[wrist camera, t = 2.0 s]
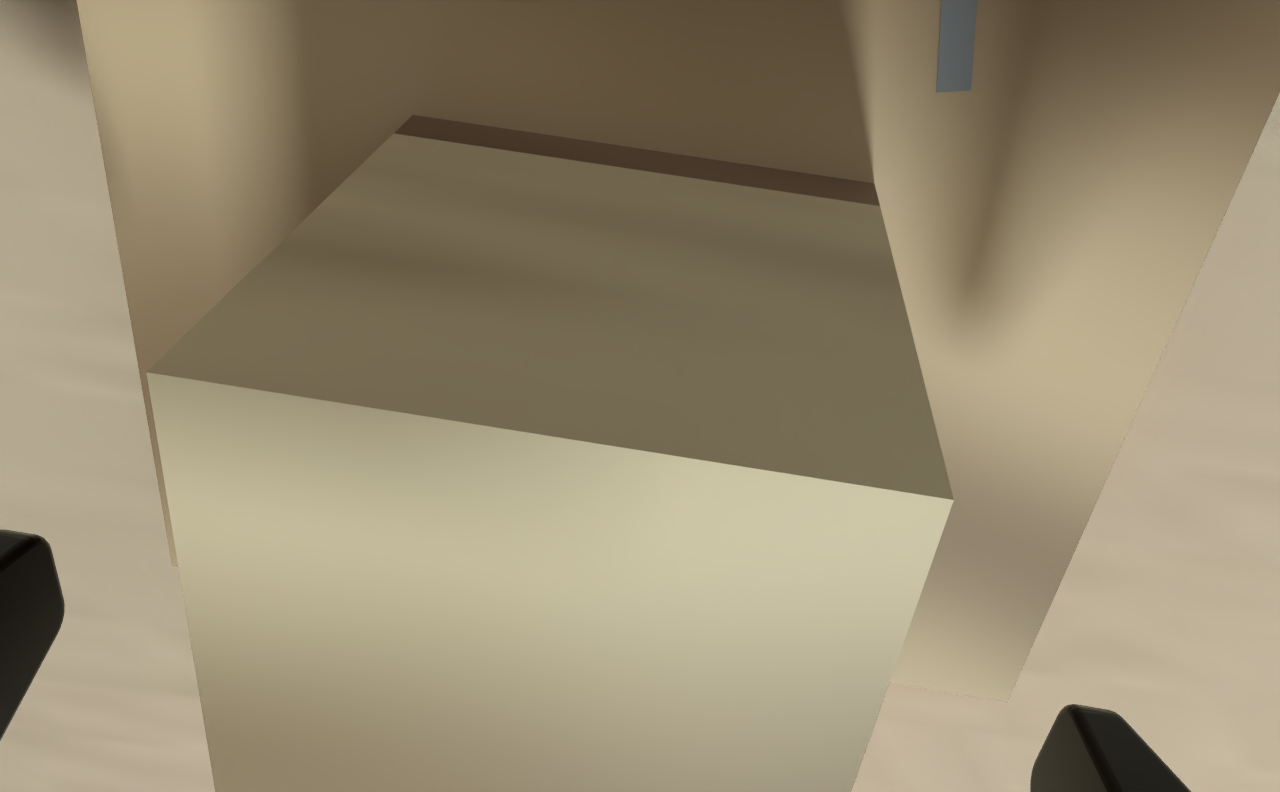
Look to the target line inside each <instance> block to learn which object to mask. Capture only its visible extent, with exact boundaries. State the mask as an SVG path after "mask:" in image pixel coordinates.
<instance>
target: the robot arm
mask: <svg viewBox="0 0 1280 792" xmlns="http://www.w3.org/2000/svg"><path fill="white" fill-rule="evenodd" d="M63 617H64V598H63V594H62V590H61V586H60V582H59V578H58V574H57V570H56V566H55V562H54V558H53V554H52V550H51V547H50V545H49V543H48V542H47V541H46V540H45V539H44V538H43V537H41V536H39V535H35V534H28V533H22V532H16V531H10V530H0V740H1V739H2V737H3V735H4V733H5V731H6V729H7V727H8V725H9V724H10V722H11V720H12V718H13V716H14V714H15V712H16V711H17V709H18V707H19V705H20V703H21V701H22V699H23V697H24V696H25V694H26V692H27V690H28V688H29V686H30V684H31V682H32V681H33V679H34V677H35V675H36V673H37V671H38V669H39V668H40V666H41V664H42V662H43V660H44V658H45V656H46V654H47V653H48V651H49V649H50V647H51V645H52V643H53V641H54V640H55V638H56V636H57V634H58V632H59V630H60V627H61V624H62V621H63ZM1030 790H1031V792H1191V791H1190V790H1189V789H1188V788H1187V787H1186V786H1185V784H1184V783H1183V782H1182V781H1181V780H1180V779H1179V778H1178V777H1177V776H1176V775H1175V774H1174V773H1173V772H1172V770H1171V769H1170V768H1169V767H1168V766H1167V765H1166V764H1165V763H1164V762H1163V761H1162V760H1161V759H1160V757H1159V756H1158V755H1157V754H1156V753H1155V752H1154V751H1153V750H1152V749H1151V748H1150V747H1149V746H1148V745H1147V743H1146V742H1145V741H1144V740H1143V739H1142V738H1141V737H1140V736H1139V735H1138V734H1137V733H1136V732H1135V731H1134V729H1133V728H1132V727H1131V726H1130V725H1129V724H1128V723H1127V722H1126V721H1125V720H1124V719H1123V718H1122V717H1121V716H1120V715H1118V714H1117V713H1115V712H1113V711H1110V710H1106V709H1100V708H1094V707H1088V706H1082V705H1076V704H1072V705H1067V706H1065V707H1064V708H1063V709H1062V710H1061V711H1060V713H1059V714H1058V716H1057V718H1056V720H1055V722H1054V724H1053V726H1052V728H1051V730H1050V732H1049V734H1048V736H1047V738H1046V740H1045V742H1044V744H1043V746H1042V749H1041V751H1040V753H1039V755H1038V757H1037V759H1036V761H1035V763H1034V766H1033V770H1032V775H1031V787H1030Z"/></svg>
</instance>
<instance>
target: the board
mask: <svg viewBox="0 0 1280 792" xmlns="http://www.w3.org/2000/svg"><path fill="white" fill-rule="evenodd" d="M77 6H78V12H79V18H80V24H81V30H82V35H83V41H84V47H85V53H86V59H87V65H88V71H89V77H90V83H91V89H92V95H93V101H94V106H95V112H96V118H97V124H98V130H99V136H100V142H101V148H102V154H103V160H104V166H105V171H106V177H107V183H108V189H109V195H110V201H111V207H112V213H113V219H114V225H115V231H116V237H117V242H118V248H119V254H120V260H121V266H122V272H123V278H124V284H125V290H126V296H127V302H128V307H129V313H130V319H131V325H132V331H133V337H134V343H135V349H136V355H137V361H138V367H139V373H140V378H141V384H142V390H143V396H144V402H145V408H146V414H147V420H148V426H149V432H150V438H151V443H152V449H153V455H154V461H155V467H156V473H157V479H158V485H159V491H160V497H161V503H162V509H163V514H164V520H165V526H166V532H167V538H168V544H169V550H170V556H171V562H172V566H177V567H178V561H177V555H176V549H175V543H174V537H173V531H172V525H171V519H170V513H169V507H168V501H167V495H166V488H165V482H164V476H163V470H162V464H161V458H160V452H159V446H158V440H157V434H156V428H155V422H154V416H153V410H152V404H151V398H150V391H149V385H148V379H147V373H146V372H147V371H148V370H149V369H150V368H151V367H152V366H153V365H154V364H155V363H156V362H158V361H159V360H160V359H161V358H162V357H163V356H164V355H165V354H166V353H167V352H168V351H169V350H170V349H171V348H172V347H173V346H174V345H175V344H176V343H177V342H178V341H179V340H180V339H181V338H182V337H183V336H184V335H185V334H187V333H188V332H189V331H190V330H191V329H192V328H193V327H194V326H195V325H196V324H197V323H198V322H199V321H200V320H201V319H202V318H203V317H204V316H205V315H206V314H207V313H208V312H209V311H210V310H211V309H212V308H213V307H214V306H216V305H217V304H218V303H219V302H220V301H221V300H222V299H223V298H224V297H225V296H226V295H227V294H228V293H229V292H230V291H231V290H232V289H233V288H234V287H235V286H236V285H237V284H238V283H239V282H240V281H241V280H242V279H243V278H244V277H246V276H247V275H248V274H249V273H250V272H251V271H252V270H253V269H254V268H255V267H256V266H257V265H258V264H259V263H260V262H261V261H262V260H263V259H264V258H265V257H266V256H267V255H268V254H269V253H270V252H271V251H272V250H273V249H275V248H276V247H277V246H278V245H279V244H280V243H281V242H282V241H283V240H284V239H285V238H286V237H287V236H288V235H289V234H290V233H291V232H292V231H293V230H294V229H295V228H296V227H297V226H298V225H299V224H300V223H301V222H302V221H304V220H305V219H306V218H307V217H308V216H309V215H310V214H311V213H312V212H313V211H314V210H315V209H316V208H317V207H318V206H319V205H320V204H321V203H322V202H323V201H324V200H325V199H326V198H327V197H328V196H329V195H330V194H331V193H333V192H334V191H335V190H336V189H337V188H338V187H339V186H340V185H341V184H342V183H343V182H344V181H345V180H346V179H347V178H348V177H349V176H350V175H351V174H352V173H353V172H354V171H355V170H356V169H357V168H358V167H359V166H360V165H361V164H363V163H364V162H365V161H366V160H367V159H368V158H369V157H370V156H371V155H372V154H373V153H374V152H375V151H376V150H377V149H378V148H379V147H380V146H381V145H382V144H383V143H384V142H385V141H386V140H387V139H388V138H389V137H390V136H392V135H393V134H394V133H395V132H396V131H397V130H398V129H399V128H400V127H401V126H402V125H403V124H404V123H405V122H406V121H407V120H408V119H409V118H410V117H411V116H412V115H418V116H424V117H431V118H438V119H445V120H451V121H458V122H465V123H471V124H478V125H485V126H492V127H498V128H505V129H512V130H519V131H525V132H532V133H539V134H545V135H552V136H559V137H566V138H572V139H579V140H586V141H592V142H599V143H606V144H613V145H619V146H626V147H633V148H639V149H646V150H653V151H660V152H666V153H673V154H680V155H687V156H693V157H700V158H707V159H713V160H720V161H727V162H734V163H740V164H747V165H754V166H760V167H767V168H774V169H781V170H787V171H794V172H801V173H808V174H814V175H821V176H828V177H834V178H841V179H848V180H855V181H861V182H868V183H874V184H875V188H876V192H877V196H878V200H879V204H880V207H881V211H882V215H883V219H884V223H885V227H886V231H887V235H888V239H889V243H890V247H891V251H892V255H893V259H894V263H895V267H896V271H897V275H898V279H899V283H900V287H901V291H902V295H903V299H904V303H905V307H906V311H907V315H908V319H909V323H910V327H911V331H912V335H913V339H914V343H915V347H916V351H917V355H918V359H919V363H920V367H921V371H922V375H923V379H924V383H925V387H926V391H927V395H928V399H929V403H930V407H931V411H932V415H933V419H934V423H935V427H936V431H937V435H938V439H939V443H940V447H941V451H942V454H943V458H944V462H945V466H946V470H947V474H948V478H949V482H950V486H951V490H952V494H953V498H954V501H953V504H952V507H951V510H950V513H949V515H948V518H947V521H946V524H945V527H944V530H943V532H942V535H941V538H940V541H939V544H938V547H937V550H936V552H935V555H934V558H933V561H932V564H931V567H930V569H929V572H928V575H927V578H926V581H925V584H924V586H923V589H922V592H921V595H920V598H919V601H918V603H917V606H916V609H915V612H914V615H913V618H912V620H911V623H910V626H909V629H908V632H907V635H906V638H905V640H904V643H903V646H902V649H901V652H900V655H899V657H898V660H897V663H896V666H895V669H894V672H893V674H892V677H891V680H890V683H889V684H896V685H902V686H908V687H914V688H920V689H926V690H932V691H938V692H944V693H950V694H957V695H963V696H969V697H975V698H981V699H987V700H993V701H999V702H1005V703H1007V701H1008V699H1009V697H1010V695H1011V693H1012V690H1013V688H1014V686H1015V684H1016V681H1017V679H1018V677H1019V675H1020V672H1021V670H1022V668H1023V666H1024V663H1025V661H1026V659H1027V657H1028V654H1029V652H1030V650H1031V648H1032V646H1033V643H1034V641H1035V639H1036V637H1037V634H1038V632H1039V630H1040V628H1041V625H1042V623H1043V621H1044V619H1045V616H1046V614H1047V612H1048V610H1049V607H1050V605H1051V603H1052V601H1053V598H1054V596H1055V594H1056V592H1057V590H1058V587H1059V585H1060V583H1061V581H1062V578H1063V576H1064V574H1065V572H1066V569H1067V567H1068V565H1069V563H1070V560H1071V558H1072V556H1073V554H1074V551H1075V549H1076V547H1077V545H1078V543H1079V540H1080V538H1081V536H1082V534H1083V531H1084V529H1085V527H1086V525H1087V522H1088V520H1089V518H1090V516H1091V513H1092V511H1093V509H1094V507H1095V504H1096V502H1097V500H1098V498H1099V495H1100V493H1101V491H1102V489H1103V487H1104V484H1105V482H1106V480H1107V478H1108V475H1109V473H1110V471H1111V469H1112V466H1113V464H1114V462H1115V460H1116V457H1117V455H1118V453H1119V451H1120V448H1121V446H1122V444H1123V442H1124V440H1125V437H1126V435H1127V433H1128V431H1129V428H1130V426H1131V424H1132V422H1133V419H1134V417H1135V415H1136V413H1137V410H1138V408H1139V406H1140V404H1141V401H1142V399H1143V397H1144V395H1145V392H1146V390H1147V388H1148V386H1149V384H1150V381H1151V379H1152V377H1153V375H1154V372H1155V370H1156V368H1157V366H1158V363H1159V361H1160V359H1161V357H1162V354H1163V352H1164V350H1165V348H1166V345H1167V343H1168V341H1169V339H1170V337H1171V334H1172V332H1173V330H1174V328H1175V325H1176V323H1177V321H1178V319H1179V316H1180V314H1181V312H1182V310H1183V307H1184V305H1185V303H1186V301H1187V298H1188V296H1189V294H1190V292H1191V289H1192V287H1193V285H1194V283H1195V281H1196V278H1197V276H1198V274H1199V272H1200V269H1201V267H1202V265H1203V263H1204V260H1205V258H1206V256H1207V254H1208V251H1209V249H1210V247H1211V245H1212V242H1213V240H1214V238H1215V236H1216V234H1217V231H1218V229H1219V227H1220V225H1221V222H1222V220H1223V218H1224V216H1225V213H1226V211H1227V209H1228V207H1229V204H1230V202H1231V200H1232V198H1233V195H1234V193H1235V191H1236V189H1237V186H1238V184H1239V182H1240V180H1241V178H1242V175H1243V173H1244V171H1245V169H1246V166H1247V164H1248V162H1249V160H1250V157H1251V155H1252V153H1253V151H1254V148H1255V146H1256V144H1257V142H1258V139H1259V137H1260V135H1261V133H1262V131H1263V128H1264V126H1265V124H1266V122H1267V119H1268V117H1269V115H1270V113H1271V110H1272V108H1273V106H1274V104H1275V101H1276V99H1277V97H1278V95H1279V92H1280V0H77Z"/></svg>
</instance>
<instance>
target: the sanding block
mask: <svg viewBox="0 0 1280 792" xmlns="http://www.w3.org/2000/svg"><path fill="white" fill-rule="evenodd" d="M146 373H147V379H148V385H149V391H150V398H151V404H152V410H153V416H154V422H155V428H156V434H157V440H158V446H159V452H160V458H161V464H162V470H163V476H164V482H165V488H166V495H167V501H168V507H169V513H170V519H171V525H172V531H173V537H174V543H175V549H176V555H177V561H178V567H179V573H180V579H181V585H182V592H183V598H184V604H185V610H186V616H187V622H188V628H189V634H190V640H191V646H192V652H193V658H194V664H195V670H196V676H197V682H198V688H199V695H200V701H201V707H202V713H203V719H204V725H205V731H206V737H207V743H208V749H209V755H210V761H211V767H212V773H213V779H214V785H215V792H851V791H852V788H853V785H854V782H855V779H856V777H857V774H858V771H859V768H860V765H861V762H862V760H863V757H864V754H865V751H866V748H867V745H868V743H869V740H870V737H871V734H872V731H873V728H874V726H875V723H876V720H877V717H878V714H879V711H880V708H881V706H882V703H883V700H884V697H885V694H886V691H887V689H888V686H889V683H890V680H891V677H892V674H893V672H894V669H895V666H896V663H897V660H898V657H899V655H900V652H901V649H902V646H903V643H904V640H905V638H906V635H907V632H908V629H909V626H910V623H911V620H912V618H913V615H914V612H915V609H916V606H917V603H918V601H919V598H920V595H921V592H922V589H923V586H924V584H925V581H926V578H927V575H928V572H929V569H930V567H931V564H932V561H933V558H934V555H935V552H936V550H937V547H938V544H939V541H940V538H941V535H942V532H943V530H944V527H945V524H946V521H947V518H948V515H949V513H950V510H951V507H952V504H953V501H954V498H953V494H952V490H951V486H950V482H949V478H948V474H947V470H946V466H945V462H944V458H943V454H942V451H941V447H940V443H939V439H938V435H937V431H936V427H935V423H934V419H933V415H932V411H931V407H930V403H929V399H928V395H927V391H926V387H925V383H924V379H923V375H922V371H921V367H920V363H919V359H918V355H917V351H916V347H915V343H914V339H913V335H912V331H911V327H910V323H909V319H908V315H907V311H906V307H905V303H904V299H903V295H902V291H901V287H900V283H899V279H898V275H897V271H896V267H895V263H894V259H893V255H892V251H891V247H890V243H889V239H888V235H887V231H886V227H885V223H884V219H883V215H882V211H881V207H880V204H879V200H878V196H877V192H876V188H875V184H874V183H868V182H861V181H855V180H848V179H841V178H834V177H828V176H821V175H814V174H808V173H801V172H794V171H787V170H781V169H774V168H767V167H760V166H754V165H747V164H740V163H734V162H727V161H720V160H713V159H707V158H700V157H693V156H687V155H680V154H673V153H666V152H660V151H653V150H646V149H639V148H633V147H626V146H619V145H613V144H606V143H599V142H592V141H586V140H579V139H572V138H566V137H559V136H552V135H545V134H539V133H532V132H525V131H519V130H512V129H505V128H498V127H492V126H485V125H478V124H471V123H465V122H458V121H451V120H445V119H438V118H431V117H424V116H418V115H412V116H411V117H410V118H409V119H408V120H407V121H406V122H405V123H404V124H403V125H402V126H401V127H400V128H399V129H398V130H397V131H396V132H395V133H394V134H393V135H392V136H390V137H389V138H388V139H387V140H386V141H385V142H384V143H383V144H382V145H381V146H380V147H379V148H378V149H377V150H376V151H375V152H374V153H373V154H372V155H371V156H370V157H369V158H368V159H367V160H366V161H365V162H364V163H363V164H361V165H360V166H359V167H358V168H357V169H356V170H355V171H354V172H353V173H352V174H351V175H350V176H349V177H348V178H347V179H346V180H345V181H344V182H343V183H342V184H341V185H340V186H339V187H338V188H337V189H336V190H335V191H334V192H333V193H331V194H330V195H329V196H328V197H327V198H326V199H325V200H324V201H323V202H322V203H321V204H320V205H319V206H318V207H317V208H316V209H315V210H314V211H313V212H312V213H311V214H310V215H309V216H308V217H307V218H306V219H305V220H304V221H302V222H301V223H300V224H299V225H298V226H297V227H296V228H295V229H294V230H293V231H292V232H291V233H290V234H289V235H288V236H287V237H286V238H285V239H284V240H283V241H282V242H281V243H280V244H279V245H278V246H277V247H276V248H275V249H273V250H272V251H271V252H270V253H269V254H268V255H267V256H266V257H265V258H264V259H263V260H262V261H261V262H260V263H259V264H258V265H257V266H256V267H255V268H254V269H253V270H252V271H251V272H250V273H249V274H248V275H247V276H246V277H244V278H243V279H242V280H241V281H240V282H239V283H238V284H237V285H236V286H235V287H234V288H233V289H232V290H231V291H230V292H229V293H228V294H227V295H226V296H225V297H224V298H223V299H222V300H221V301H220V302H219V303H218V304H217V305H216V306H214V307H213V308H212V309H211V310H210V311H209V312H208V313H207V314H206V315H205V316H204V317H203V318H202V319H201V320H200V321H199V322H198V323H197V324H196V325H195V326H194V327H193V328H192V329H191V330H190V331H189V332H188V333H187V334H185V335H184V336H183V337H182V338H181V339H180V340H179V341H178V342H177V343H176V344H175V345H174V346H173V347H172V348H171V349H170V350H169V351H168V352H167V353H166V354H165V355H164V356H163V357H162V358H161V359H160V360H159V361H158V362H156V363H155V364H154V365H153V366H152V367H151V368H150V369H149V370H148V371H147V372H146Z"/></svg>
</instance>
